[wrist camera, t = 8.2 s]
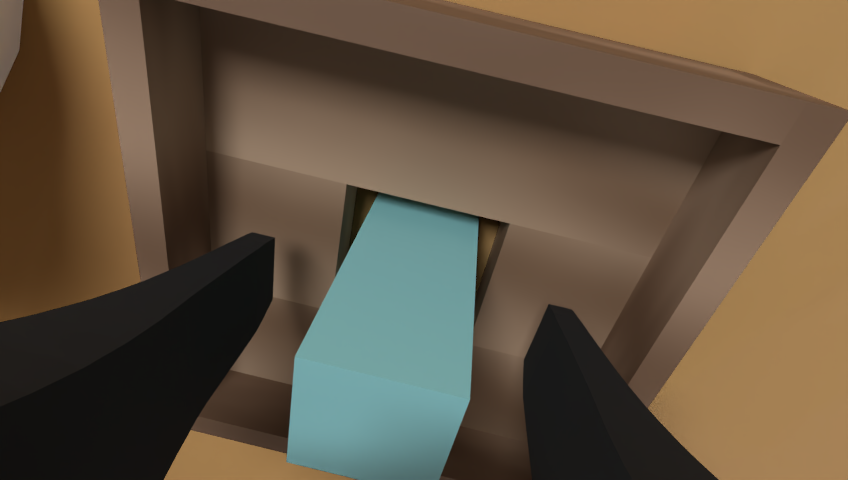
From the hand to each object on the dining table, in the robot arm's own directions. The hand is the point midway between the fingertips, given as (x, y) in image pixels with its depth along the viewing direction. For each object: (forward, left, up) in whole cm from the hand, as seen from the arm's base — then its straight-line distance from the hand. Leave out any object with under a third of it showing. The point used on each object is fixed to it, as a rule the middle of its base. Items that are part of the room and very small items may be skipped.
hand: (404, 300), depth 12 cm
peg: (0, 0, -3) cm, 3 cm away
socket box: (0, 0, -3) cm, 3 cm away
